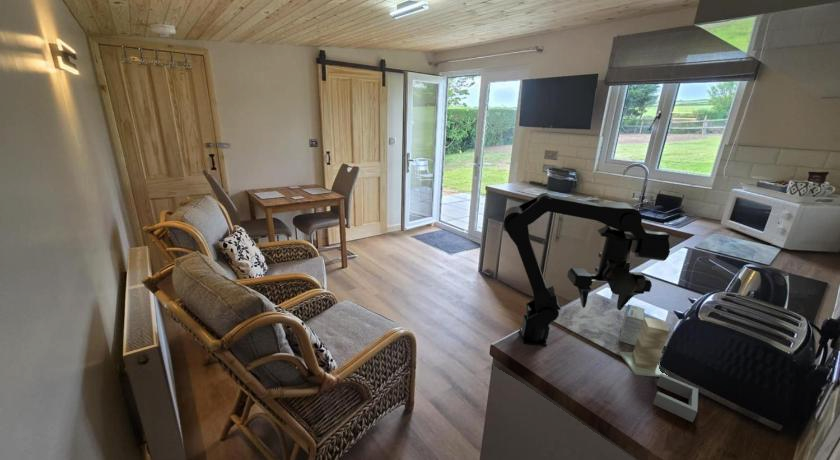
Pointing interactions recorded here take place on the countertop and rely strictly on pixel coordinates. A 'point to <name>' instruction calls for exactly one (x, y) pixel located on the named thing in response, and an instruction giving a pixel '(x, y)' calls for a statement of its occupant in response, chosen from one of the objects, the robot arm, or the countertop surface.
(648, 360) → the block
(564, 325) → the countertop surface
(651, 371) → the sage pad
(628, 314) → the medicine box
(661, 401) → the grey holder
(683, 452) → the countertop surface
